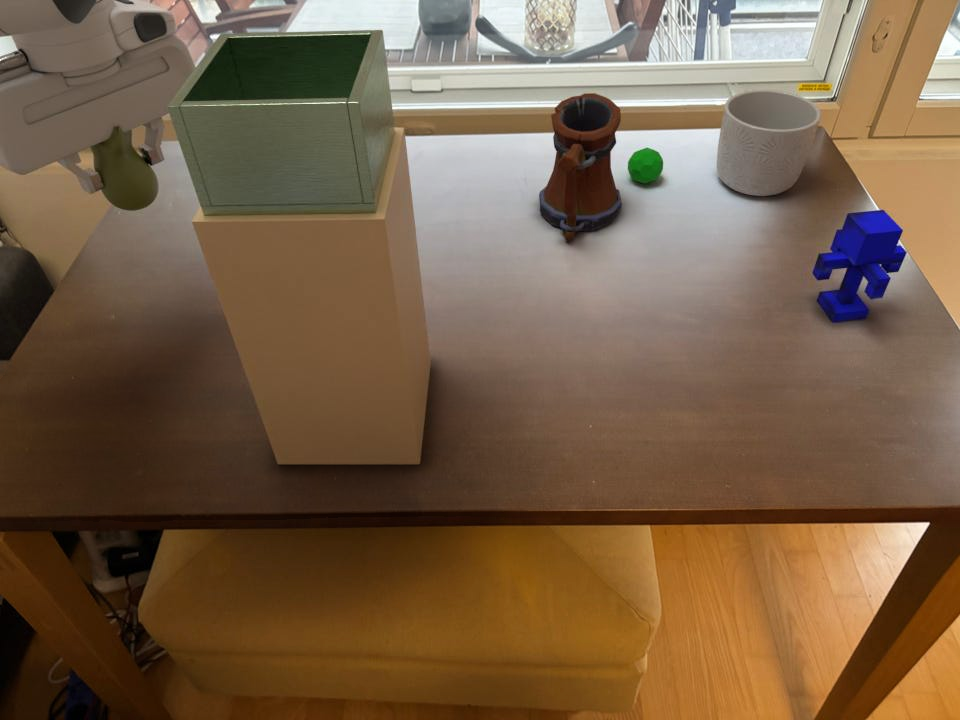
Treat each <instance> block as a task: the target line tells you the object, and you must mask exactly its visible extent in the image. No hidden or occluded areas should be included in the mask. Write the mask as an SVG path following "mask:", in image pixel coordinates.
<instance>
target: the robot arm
mask: <svg viewBox="0 0 960 720" xmlns="http://www.w3.org/2000/svg"><path fill="white" fill-rule="evenodd" d="M176 30H177V23H176V20H175V17H174V14H173V13H172V11H170V10H168V9H166V8H164V7H162V6H159V5H156V4H154V3H151V2H148V1H144V0H0V38H2V37H10V36H11V38H12V40H13V43H14V45H15V47H16V49H17V50H14V51H12V52H10V53H6V54H3V55H1V56H0V166H1V167H2V168H3V169H5V170H7V171H10V172H11V173H14V174H17V175H20V176H25V175H28V174H30V173H34V172H35V171H38V170H40V169H42V168H44V167H47V166H49V165H52V164H55V163H57V164H59V165H60V166H62V167H63V168H65V169H67V171H69V172H71V173H72V174H74V176H76V178H77V179H78V180H77V181H78V183H79V184H80V187H81V189H82V190H83V191H84V192H86V193H87V194H88V195H93V194H95V193H97V192H99V191H101V189H103V188H105V187H104V184H103V183H102V182H101V180H102V179H101V177H100V174H99V173H98V172H96V171H95V170H94V169H93V168H91V167H88V168H86V169H83V168H82V167H79V165H78V164H80V163H81V162H82V160H81V157H80V155H79V153H80V152H82V151H84V150H87V149H88V148H89V149H90V147H92V146H94V145H96V144H99V143H101V142H103V141H106V140H108V139H109V138H110V137H111V134H112V132H113V127H114V126H115V127H117V128H118V127H119V126H120V127H121V129H122V131H123V132H124V133H125V132H127V131H129V130H132V131H133V129H137V128H138V127H141V126H143V127H145V133H144V143H142V144H140V145H138V146H137V148H138V151H139V154H140V153H141V157H142V158H143V159H144V160H145V161H146V162H147V163H148V164H149V166H150V167H153V166H155V165H156V164H157V165H158V164H159V163H161V162H164V161H165V155H164V153H163V150H162V147H161V146H162V142H163V137H164V132H165V127H166V125H165V122H164V120H163V117H164V116H168V115H170V114H169V111H168V109H167V106H168V104H169V103H170V102H171V100H172V99H173V98H174V96H175V95H176V94H177V92H178V91H179V90H180V88H181V87H182V85H183V84H184V83H185V81H186V80H187V79H188V77H189V76H190V75H191V73H192V72H193V71H194V69H195V68H196V67H197V66H196V64H195V63H194V60H193V57H192V55H191V52H190V50H189V48H188V46H187V44H186V43H185V42H184V40H183V39H182V38H181V37H180V36H178V35H176V34H174V33H175V32H176Z"/></svg>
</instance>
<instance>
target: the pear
mask: <svg viewBox="0 0 960 720" xmlns="http://www.w3.org/2000/svg"><path fill="white" fill-rule="evenodd" d="M89 149H90V151H91V153H92V155H93V156H92V157H93V171H96V172H98V173H99V174H100V177H101V179H102V180H101V182H102V183H103V184H104V187H105V188H103V189H101V190H100V191H101V192H102V195H103V196H104V197H105V199H106V200H107V201H108V202H109V203H110V204H111V205H113V206H114V207H116V208H118V209H120V210H123V211H129V212H131V211H132V212H135V211H139V210H143V209H146V208H147V207H149V206H151V204H153V203H154V202H155V200H156V198H157V197H158V195H159V194H158V193H159V179H158V177H157V174H156V173H155V171H154V169H153V168H152V166H150V165H149V164H148V163H147V162H146V161H145V160H144V159H143V158H142V155H140V153H138V152H137V151H136V149H135V147H134V145H133V129H132V130H129V131H127V132H125V133H124V132H123V131H122V129H121V127H120V126H119V127H118V128H117V127H115V126H114V127H113V132H112V134H111V137H110V138H109V139H108V140H106V141H103V142H101V143H99V144H96V145H94V146H92V147H89Z"/></svg>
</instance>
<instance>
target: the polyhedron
mask: <svg viewBox="0 0 960 720" xmlns="http://www.w3.org/2000/svg"><path fill="white" fill-rule="evenodd" d="M663 170H664V160H663V157H662V156H661V153H660V152H659V151H657V150H656V149H652V148H650V147H644V148H642V149H639V150H636V151H634V152H633V153H632V155H631V156H630V158H629V159H628V161H627V171H628V174H629V175H630V177H631V179H632V180H634V181H636V182H638V183H642V184H647V183H650V182H653V181H655V180H658V178H659V176H661V174H662V173H663Z"/></svg>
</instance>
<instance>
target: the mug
mask: <svg viewBox="0 0 960 720" xmlns="http://www.w3.org/2000/svg"><path fill="white" fill-rule="evenodd" d="M554 111H555V112H554V113H552V114H550V118H551V125H552V129H553V132H554V133H553V136H552V139H553V140H552V141H553V147H554V150H555V151H556V153H555V159H554V164H553V169H552V173H551V175H550V176H549V179H548V181H547V184H546V186H545V187H543V188H542V189H541V190H540V191H539V194H538V200H539V210H540V211H539V212H540V215H541V217H543V218H544V219H545V220H546V221H548V223H550V225H552V226H554V227H558V228H561V229H563V230H564V231H565V233H564V240H565V241H567V242H571V241H572V240H573V239H574V237H575V235H576V234H577V232H578V231H581V232H582V231H583V232H584V231H596V230H598V229H600V228H602V227H605V226H607V225H609V224H610V223H612V222H613V220H614V219H615V217H616V216H617V214H618V213H619V212H620V211H621V209H622V206H623V203H622V197H621V192H620V190H619V189H618V188H617V186H616V183H615V180H614V179H615V178H614V175H613V171H612V166H611V165H612V164H611V163H612V162H611V161H612V156H611V155H612V154H611V153H612V151H613V149H614V147H615V146H616V144H617V139H616V133H617V130H618V128H619V127H620V125H621V121H622V118H621V107H619V106H618V105H617V104H615V102H614V101H612V100H611V99H610V98H608V97H606V96H604V95H601V94H598V93H595V92H594V93H593V92H591V93H587V92H586V93H583V94H581V95H574V96H571V97H568V98H566V99H564V100H561V101H560V102H559V103H558V104H557V106H555V108H554Z"/></svg>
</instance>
